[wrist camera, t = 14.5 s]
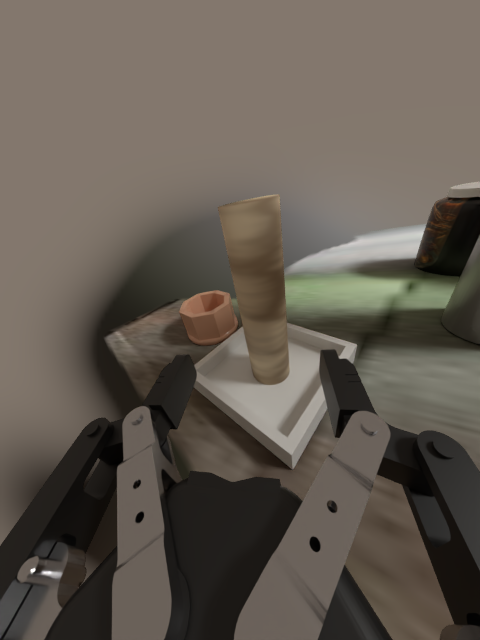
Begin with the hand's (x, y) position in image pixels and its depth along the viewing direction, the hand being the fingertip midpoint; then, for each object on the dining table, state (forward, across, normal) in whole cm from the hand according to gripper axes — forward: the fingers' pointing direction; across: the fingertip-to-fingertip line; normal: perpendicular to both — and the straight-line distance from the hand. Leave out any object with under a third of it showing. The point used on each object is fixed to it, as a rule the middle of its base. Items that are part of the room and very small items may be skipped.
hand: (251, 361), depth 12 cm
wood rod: (+10, 0, +12) cm, 16 cm away
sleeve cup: (+22, +11, +13) cm, 28 cm away
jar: (+39, -39, +13) cm, 57 cm away
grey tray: (+10, 0, +13) cm, 17 cm away
